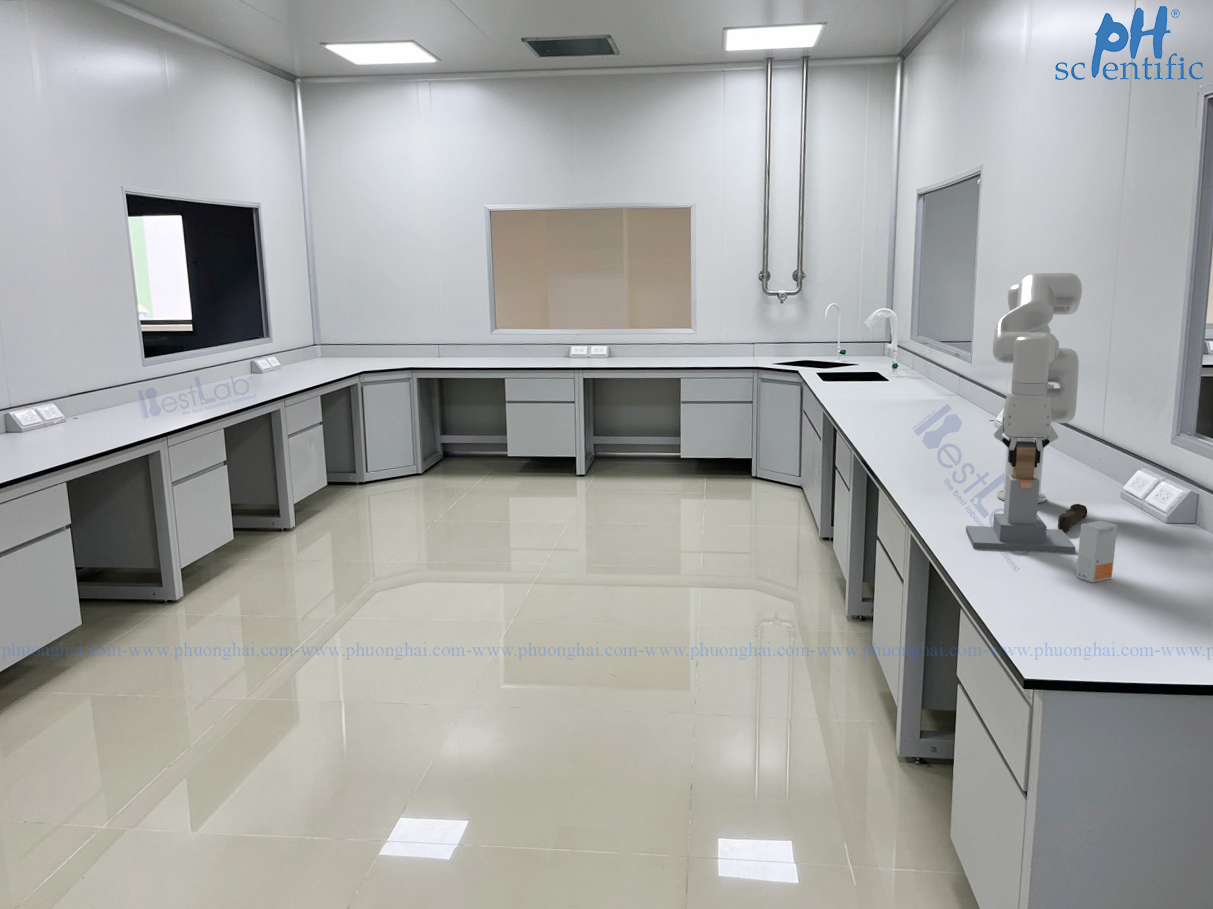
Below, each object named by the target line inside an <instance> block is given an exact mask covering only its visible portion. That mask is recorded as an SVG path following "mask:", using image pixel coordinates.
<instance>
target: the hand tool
mask: <svg viewBox="0 0 1213 909" xmlns="http://www.w3.org/2000/svg"><path fill="white" fill-rule="evenodd" d="M1087 514H1088V508H1087V505H1083V504H1080V503H1073V504H1072V505H1070V507H1069V509H1066V511H1065V513H1064V512H1062V513H1061V514H1059V516H1058V520H1057V521H1058V522H1057V529H1059V530H1062V531H1063V532H1064V533H1065V534H1066V533H1068V532H1071V529H1072V527H1074V525H1076V524H1077V523H1078V522H1080V520H1084V519H1085V518H1086V517H1088V515H1087Z"/></svg>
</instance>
